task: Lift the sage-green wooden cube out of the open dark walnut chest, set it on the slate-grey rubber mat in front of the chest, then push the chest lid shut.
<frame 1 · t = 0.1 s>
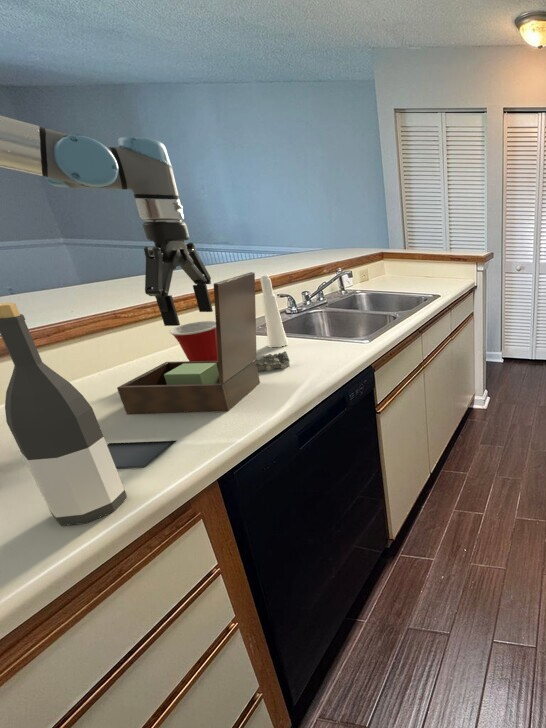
hand: (190, 318, 99), 17 cm above the countertop, tool pointing down, fingers open, 13 cm apart
lid: (237, 325, 91), point 17 cm above the countertop, hinge at 100.0°
white tapered tower: (278, 345, 136), on the countertop
chest: (200, 400, 96), on the countertop
mat: (131, 451, 76), on the countertop
plastic cup: (206, 369, 115), on the countertop
grey rock: (268, 370, 115), on the countertop
wine bottle: (92, 508, 62), on the countertop
cube: (199, 397, 96), point 1 cm above the countertop, touching chest
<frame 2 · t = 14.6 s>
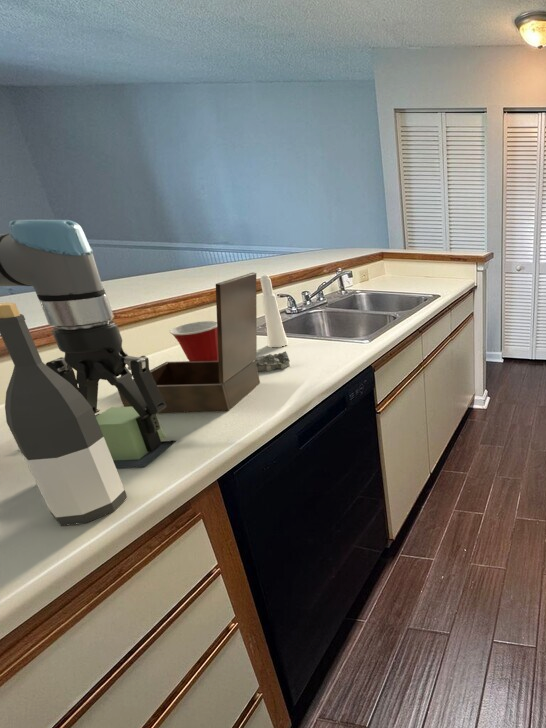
hand: (131, 448, 76), 1 cm above the countertop, tool pointing down, fingers closed on cube, 7 cm apart
lid: (238, 325, 91), point 17 cm above the countertop, hinge at 101.0°
cube: (131, 449, 76), resting on mat, touching gripper
everything else where it was.
when the fingers open (1 cm above the countertop, at t = 14.8 s): cube stays where it is, resting on mat.
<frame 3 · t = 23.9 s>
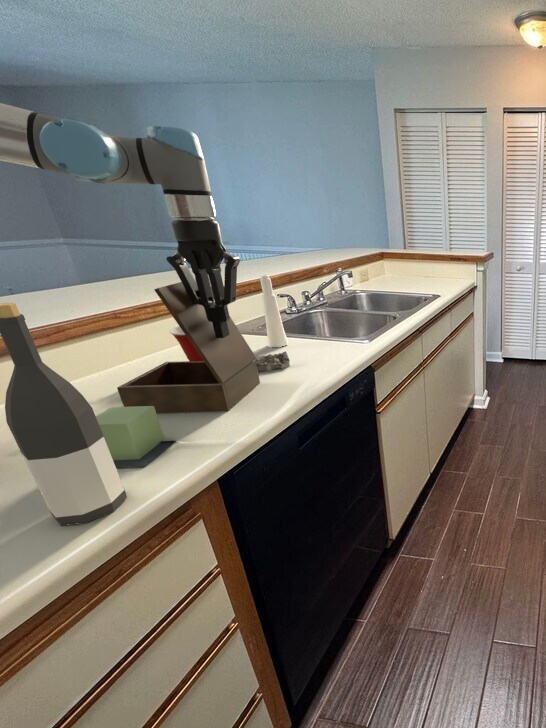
hand: (223, 336, 91), 15 cm above the countertop, tool pointing down, fingers closed
lid: (211, 327, 90), point 17 cm above the countertop, hinge at 69.8°, touching gripper
cube: (131, 449, 76), resting on mat
everything else where it was.
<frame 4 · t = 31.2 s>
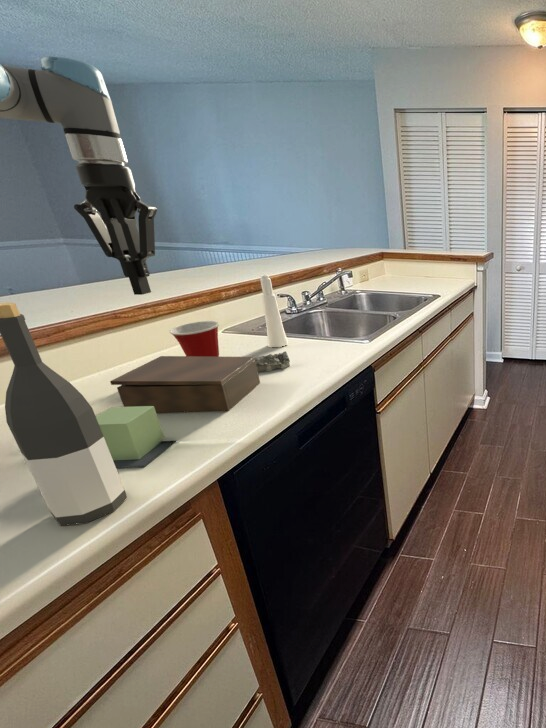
hand: (142, 293, 86), 24 cm above the countertop, tool pointing down, fingers closed
lid: (189, 369, 93), point 8 cm above the countertop, hinge at 1.6°
everything else where it was.
at the end: cube inside the target area on the mat (0.1 cm from its centre), point 0.4 cm above the mat's base; cube tilted 0°; lid at +2° (first picture: +100°) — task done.
